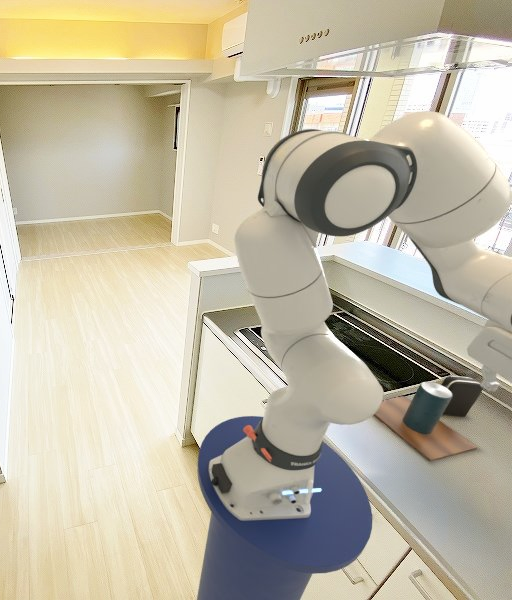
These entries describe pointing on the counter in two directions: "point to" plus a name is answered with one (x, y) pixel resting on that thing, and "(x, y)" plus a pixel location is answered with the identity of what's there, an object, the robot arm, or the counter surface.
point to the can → (427, 407)
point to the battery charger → (461, 394)
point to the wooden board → (428, 445)
